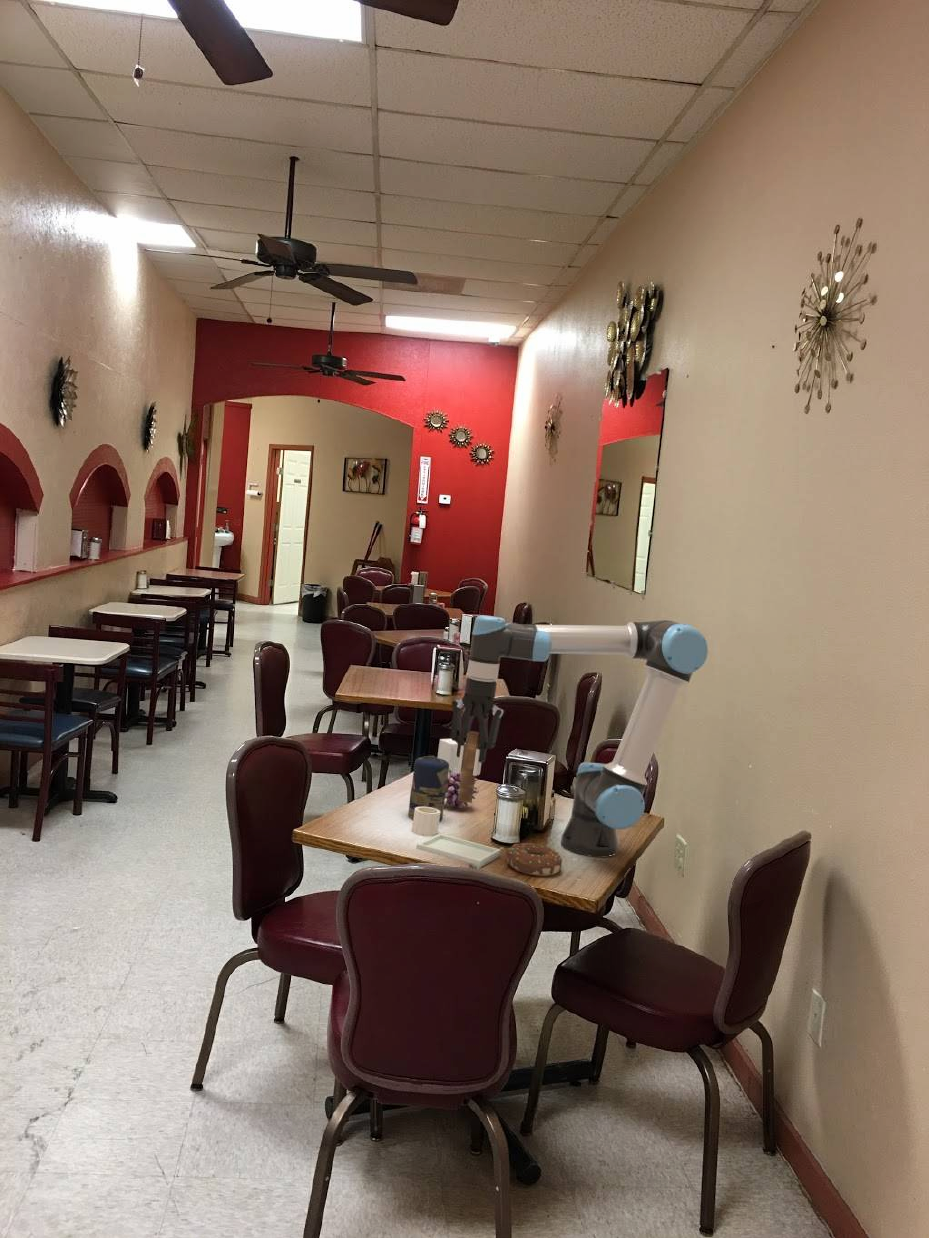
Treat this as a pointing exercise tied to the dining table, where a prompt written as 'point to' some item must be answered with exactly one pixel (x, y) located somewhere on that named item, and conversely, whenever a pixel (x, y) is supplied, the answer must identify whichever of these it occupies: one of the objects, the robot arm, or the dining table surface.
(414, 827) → the tumbler
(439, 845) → the tray
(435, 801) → the canister
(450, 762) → the skincare box
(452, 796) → the flower
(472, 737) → the dowel
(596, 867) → the dining table surface
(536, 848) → the donut
